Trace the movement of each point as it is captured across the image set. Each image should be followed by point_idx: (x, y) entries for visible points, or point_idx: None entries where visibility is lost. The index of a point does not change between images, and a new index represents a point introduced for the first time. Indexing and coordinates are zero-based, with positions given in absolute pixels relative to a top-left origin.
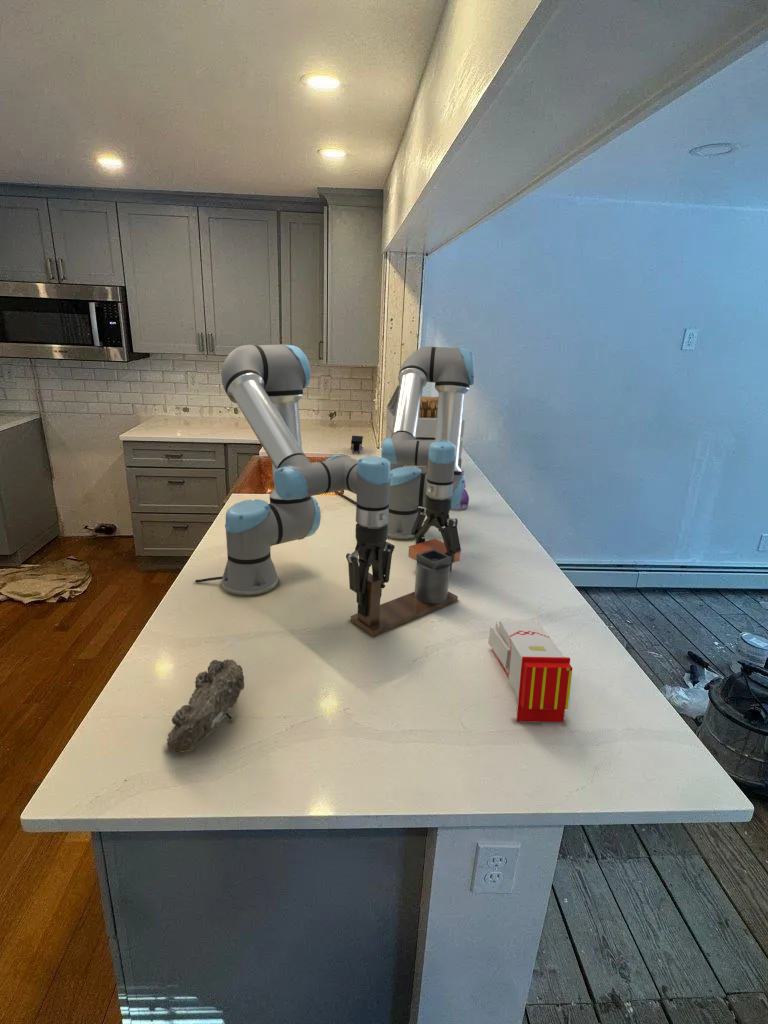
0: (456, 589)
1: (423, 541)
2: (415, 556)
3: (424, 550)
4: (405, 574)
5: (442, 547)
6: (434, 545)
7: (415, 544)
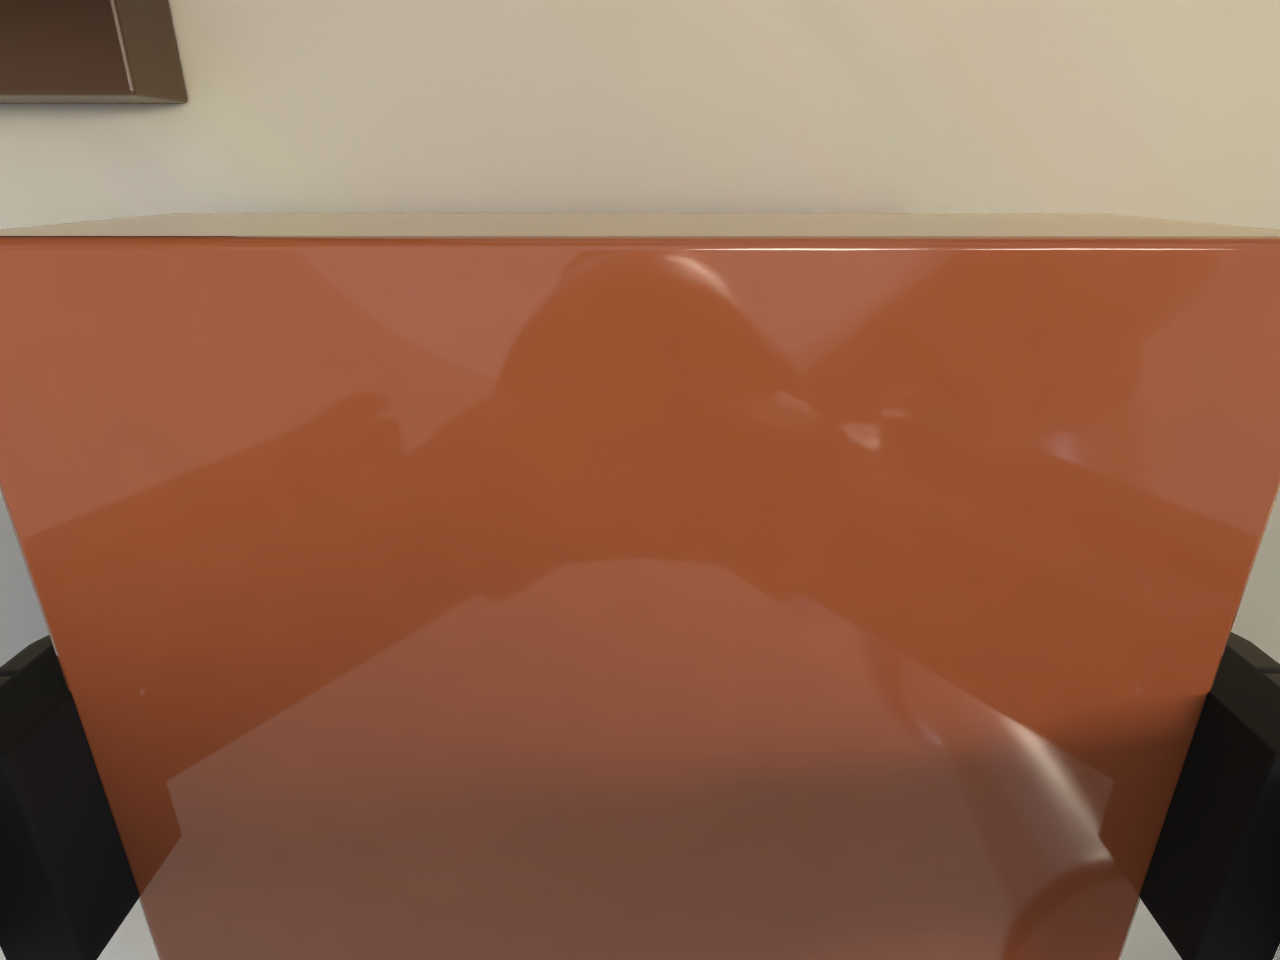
0: None
1: (1160, 853)
2: (870, 220)
3: (696, 450)
4: (887, 73)
5: (547, 954)
6: (771, 896)
7: (1240, 550)
